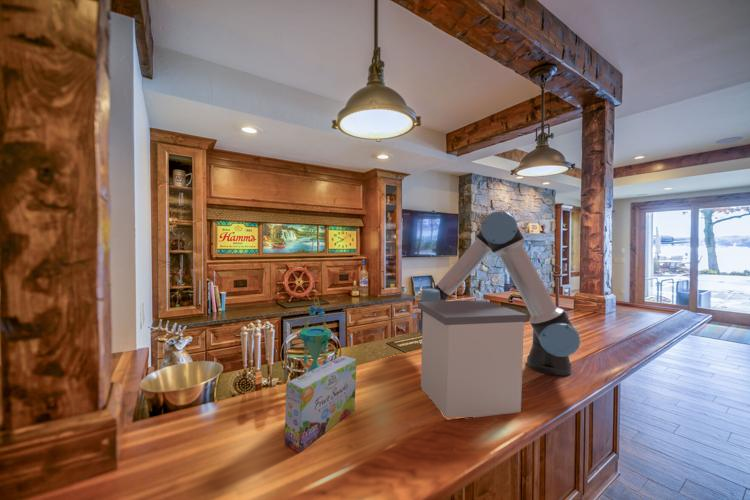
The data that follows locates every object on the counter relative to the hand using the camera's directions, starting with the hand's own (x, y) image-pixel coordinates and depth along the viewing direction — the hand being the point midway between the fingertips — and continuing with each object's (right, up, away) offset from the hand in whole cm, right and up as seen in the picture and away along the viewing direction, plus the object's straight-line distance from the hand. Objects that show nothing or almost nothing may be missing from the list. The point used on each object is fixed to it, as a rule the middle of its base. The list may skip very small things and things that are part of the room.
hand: (471, 359), depth 89 cm
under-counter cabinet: (0, -13, +3) cm, 14 cm away
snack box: (-42, -13, -12) cm, 46 cm away
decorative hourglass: (-48, -12, +7) cm, 50 cm away
